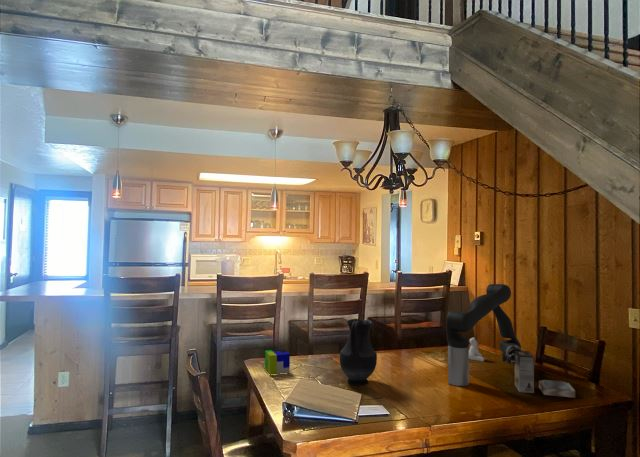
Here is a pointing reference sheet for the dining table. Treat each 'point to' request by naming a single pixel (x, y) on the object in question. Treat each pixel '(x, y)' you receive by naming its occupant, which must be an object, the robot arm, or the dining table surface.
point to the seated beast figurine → (474, 351)
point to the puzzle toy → (277, 361)
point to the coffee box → (524, 371)
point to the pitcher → (358, 353)
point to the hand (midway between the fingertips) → (520, 362)
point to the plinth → (556, 388)
